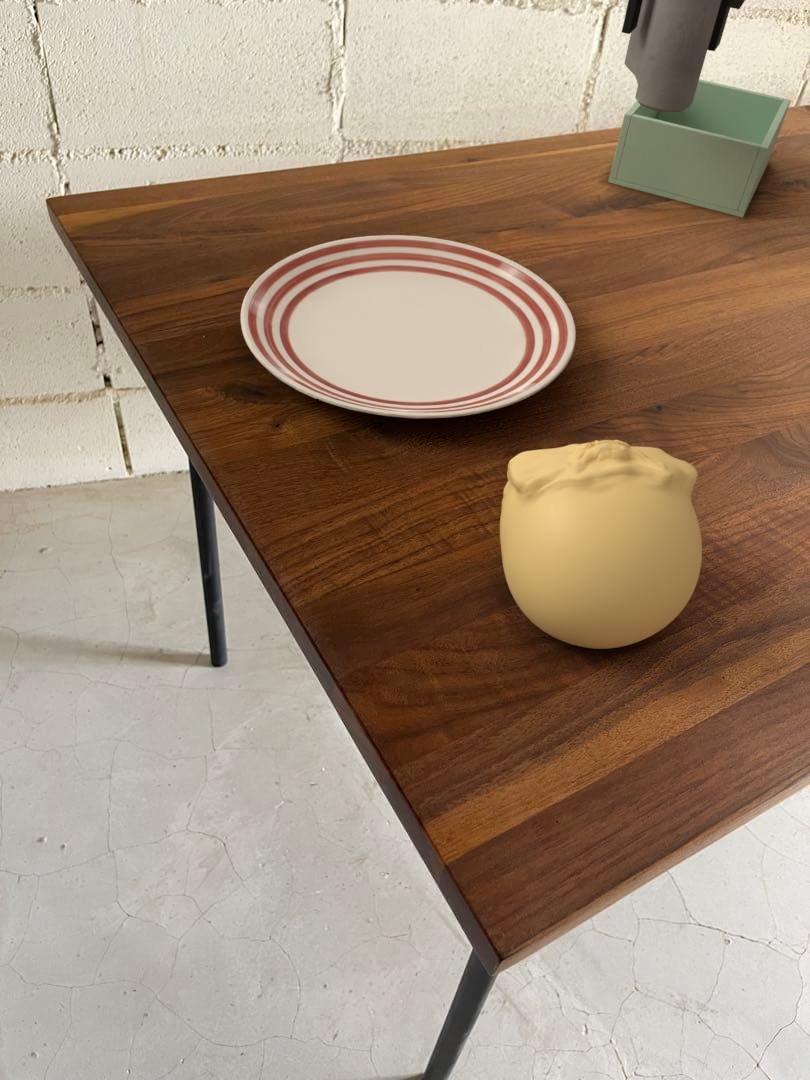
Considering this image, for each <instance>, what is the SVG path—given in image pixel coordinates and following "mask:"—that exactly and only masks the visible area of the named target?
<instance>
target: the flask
mask: <svg viewBox="0 0 810 1080" xmlns="http://www.w3.org/2000/svg"><path fill="white" fill-rule="evenodd" d="M720 4H721V0H643V1H642V5H641V10H640V14H639V18H638V23H637V27H636V28H635V29H634V30H633V31H632V32H631V33H630V36H629V40H628V45H627V49H626V54H625V58H624V65H625V67H626V68H627V69H628V70H629V71H630V72H631V73H632V75H634V77H635V79H636V84H637V88H636V92H635V96H634V98H635V100H636V101H638V103H639V104H640V105H642V106H644V107H646V108H649V109H652V110H655V111H661V112H680V111H683V110H685V109H687V108H688V107H690V105H691V104H692V102H693V99H694V95H695V92H696V88H697V85H698V81H699V79H700V78H701V74H702V71H703V67H704V63H705V60H706V56H707V54H708V50H707V49H708V46H709V42H710V39H711V35H712V32H713V28H714V25H715V21H716V18H717V14H718V11H719V7H720Z"/></svg>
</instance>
